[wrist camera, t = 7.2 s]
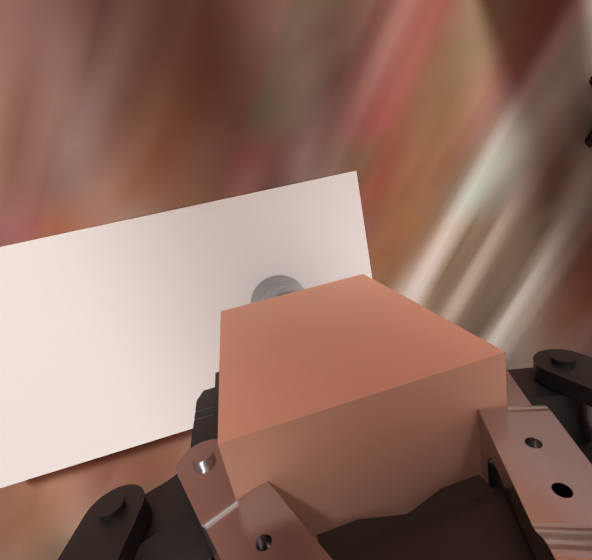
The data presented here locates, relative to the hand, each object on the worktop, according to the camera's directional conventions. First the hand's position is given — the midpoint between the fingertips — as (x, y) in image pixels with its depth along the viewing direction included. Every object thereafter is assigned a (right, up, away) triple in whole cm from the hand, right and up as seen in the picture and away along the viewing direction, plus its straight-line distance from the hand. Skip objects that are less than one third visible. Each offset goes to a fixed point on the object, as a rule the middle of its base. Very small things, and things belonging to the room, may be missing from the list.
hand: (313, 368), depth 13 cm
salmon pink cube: (0, 0, +1) cm, 1 cm away
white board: (-8, +1, +8) cm, 11 cm away
